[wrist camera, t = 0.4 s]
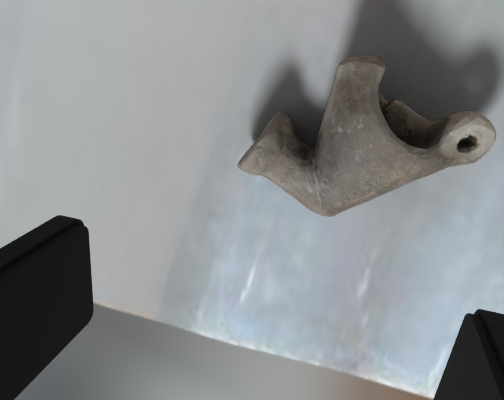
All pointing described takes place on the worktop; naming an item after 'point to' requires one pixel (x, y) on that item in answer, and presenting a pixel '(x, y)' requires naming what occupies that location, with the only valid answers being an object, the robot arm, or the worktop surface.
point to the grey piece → (363, 144)
